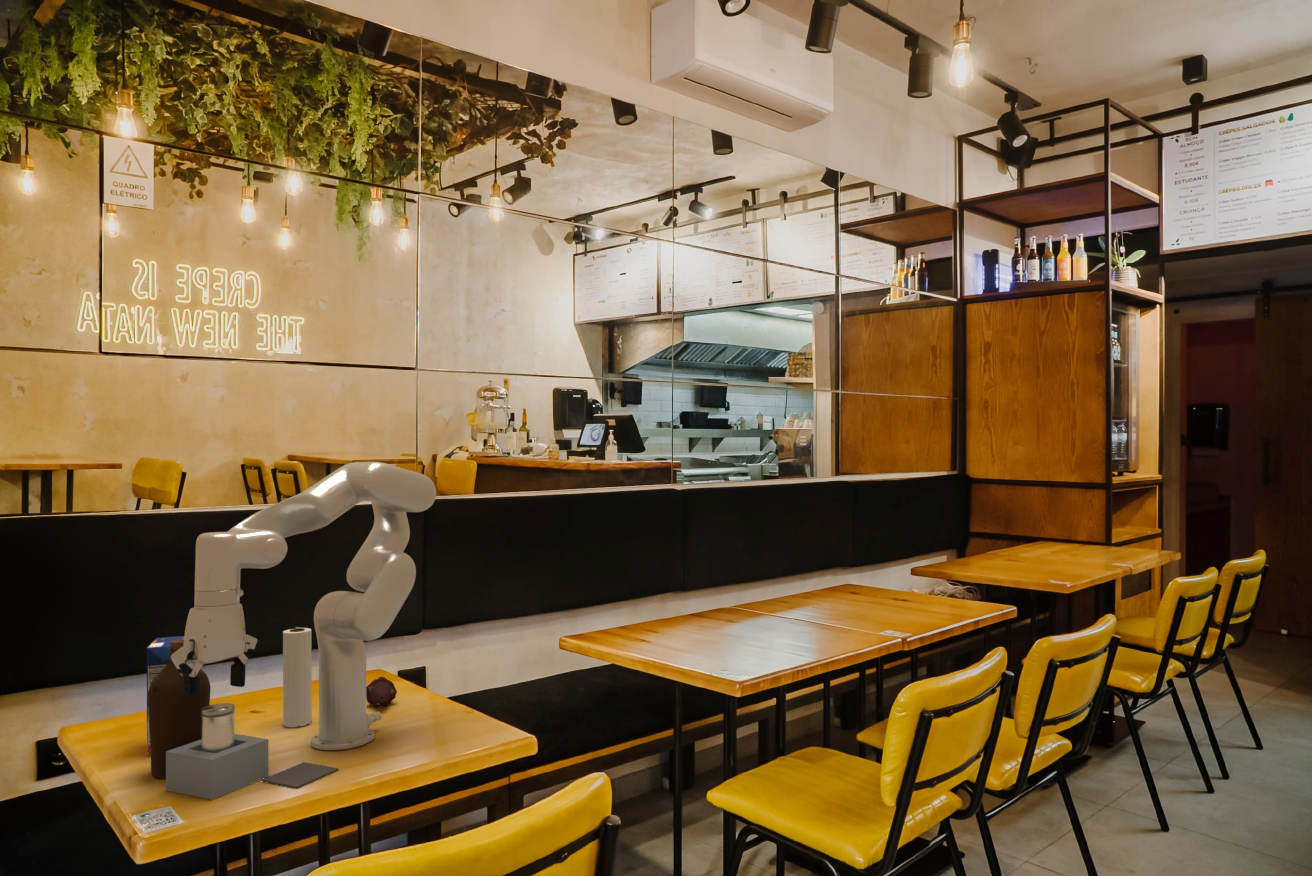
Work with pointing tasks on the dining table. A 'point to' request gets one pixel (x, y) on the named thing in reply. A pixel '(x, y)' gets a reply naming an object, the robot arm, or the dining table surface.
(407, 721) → the dining table surface
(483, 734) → the dining table surface
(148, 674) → the beverage box
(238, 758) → the housing
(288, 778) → the mat
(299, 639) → the paper towel roll
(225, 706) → the silver metallic cylinder
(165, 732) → the olive oil
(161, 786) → the dining table surface
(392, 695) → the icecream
